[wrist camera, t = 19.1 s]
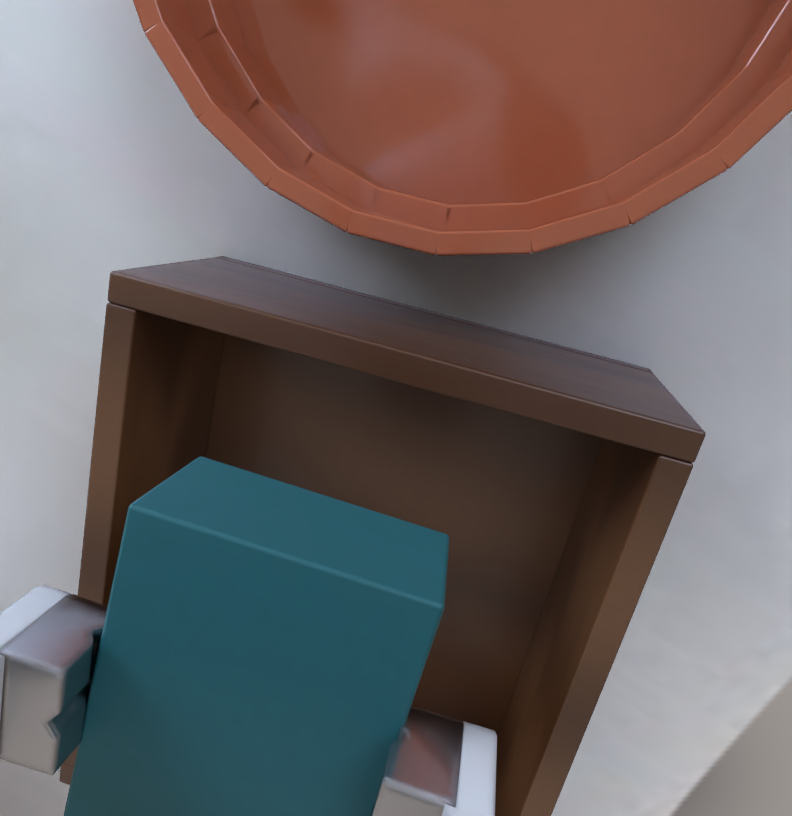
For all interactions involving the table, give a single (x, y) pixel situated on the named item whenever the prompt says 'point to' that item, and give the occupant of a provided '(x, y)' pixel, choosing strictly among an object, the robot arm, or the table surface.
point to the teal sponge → (255, 651)
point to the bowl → (480, 107)
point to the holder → (411, 472)
